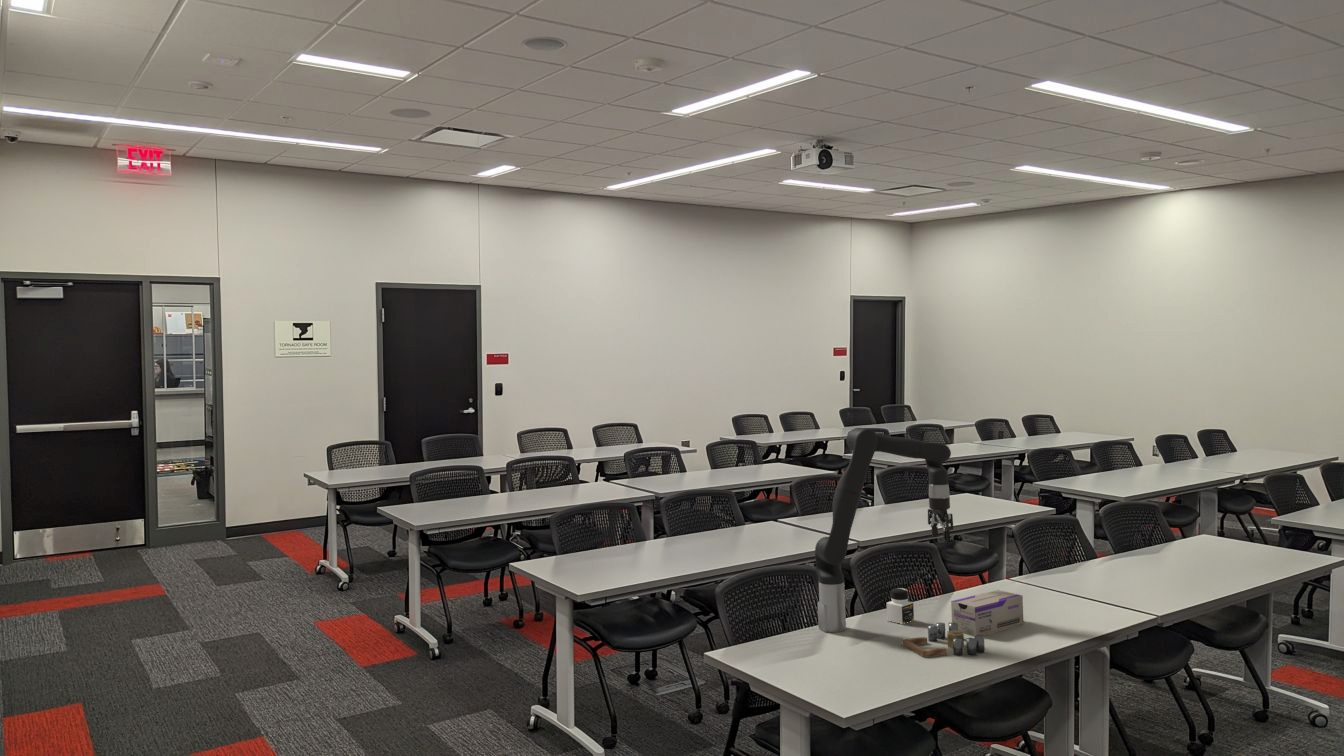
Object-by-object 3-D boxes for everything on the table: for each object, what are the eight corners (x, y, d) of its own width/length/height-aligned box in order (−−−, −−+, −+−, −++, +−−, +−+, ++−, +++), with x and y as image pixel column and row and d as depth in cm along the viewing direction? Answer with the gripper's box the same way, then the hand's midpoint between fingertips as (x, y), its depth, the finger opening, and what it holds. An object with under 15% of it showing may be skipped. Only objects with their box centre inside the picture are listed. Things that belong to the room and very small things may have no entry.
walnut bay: (923, 657, 287) (923, 651, 287) (902, 645, 301) (902, 639, 301) (946, 654, 289) (946, 648, 289) (925, 642, 303) (924, 636, 303)
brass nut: (952, 649, 294) (951, 636, 294) (943, 645, 299) (943, 631, 299) (968, 647, 296) (967, 634, 296) (959, 643, 301) (959, 629, 301)
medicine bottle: (902, 625, 324) (901, 592, 324) (886, 621, 329) (885, 589, 329) (914, 621, 328) (913, 589, 328) (898, 617, 334) (897, 585, 334)
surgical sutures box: (999, 618, 328) (998, 589, 328) (1023, 624, 319) (1022, 595, 319) (952, 630, 315) (951, 601, 315) (976, 637, 306) (975, 607, 306)
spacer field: (959, 657, 286) (958, 642, 286) (924, 638, 307) (923, 624, 307) (989, 653, 288) (988, 638, 288) (952, 635, 309) (952, 620, 309)
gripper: (920, 494, 339) (922, 536, 339) (940, 499, 325) (941, 543, 325) (938, 493, 341) (939, 534, 341) (958, 497, 327) (960, 541, 327)
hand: (940, 538), depth 333 cm, fingers open, 8 cm apart
